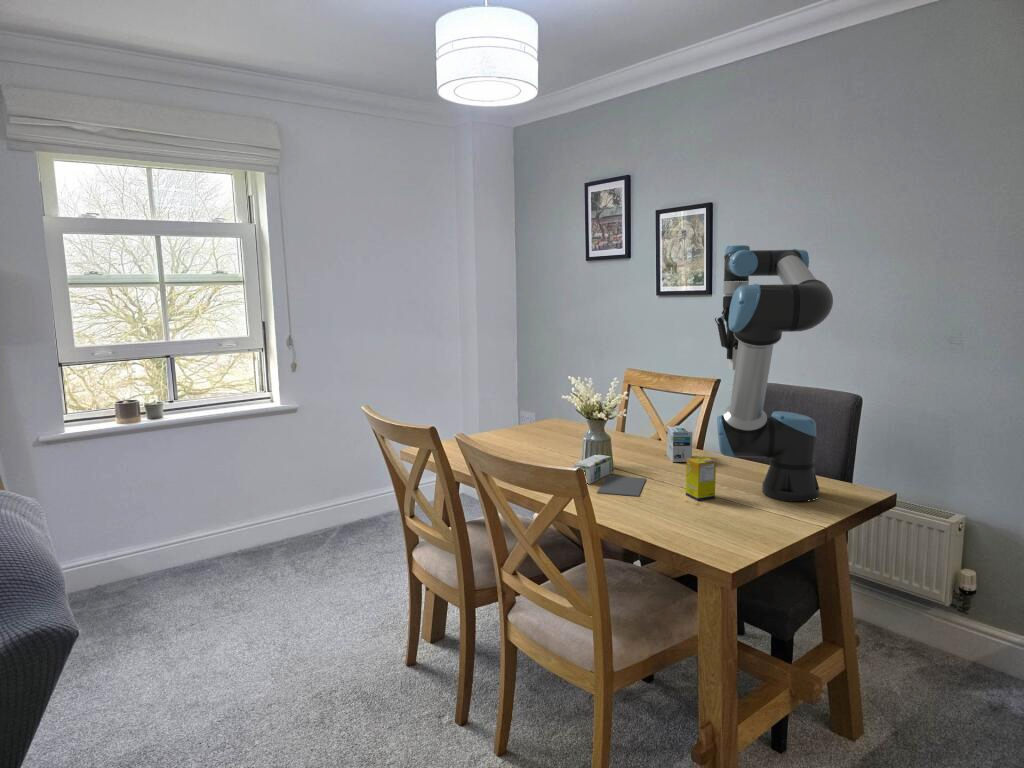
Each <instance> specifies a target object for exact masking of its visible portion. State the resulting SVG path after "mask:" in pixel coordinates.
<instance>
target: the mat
mask: <svg viewBox="0 0 1024 768" xmlns="http://www.w3.org/2000/svg"><path fill="white" fill-rule="evenodd" d="M646 481H647V478H644V477H634V476H633V477H631V476H630V477H629V476H619V475H618V476H617V475H606V476H605V478H604V480H603V482H602V483H601V485H600V487H599V488H598V490H597V491H596V493H597V494H602V495H613V496H615V495H616V496H623V497H624V496H628V497H636V498H637V497H639V496H640V494H641V493H642V490H643V488H644V486H645V485H644V484H645V483H646Z"/></svg>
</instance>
